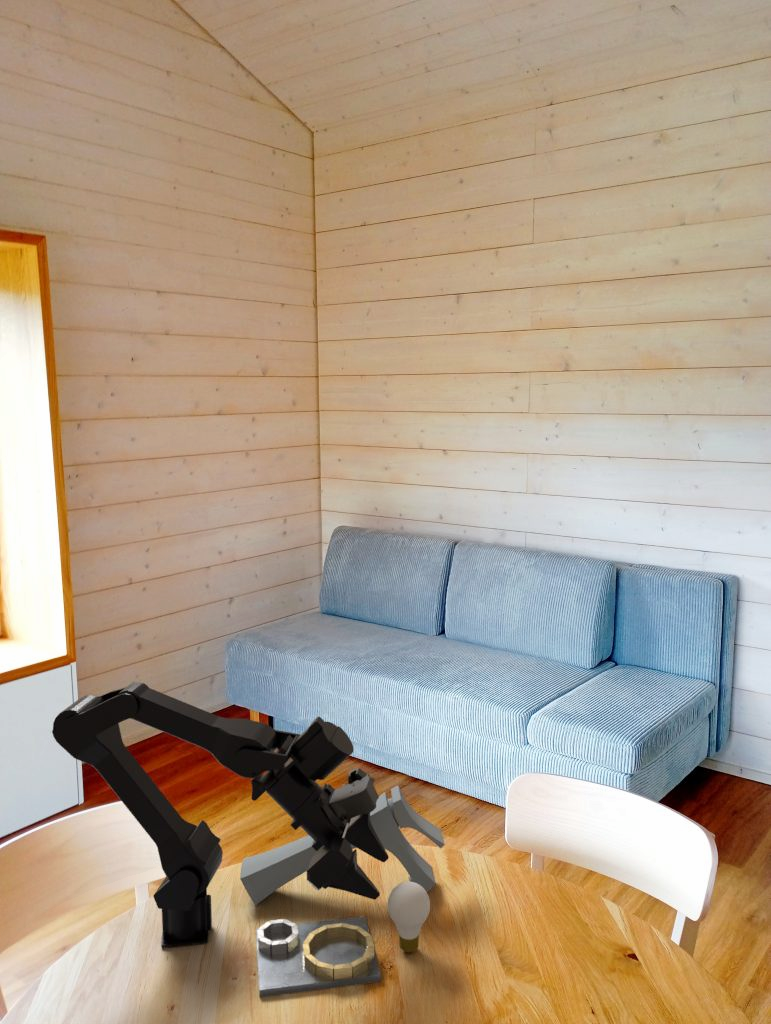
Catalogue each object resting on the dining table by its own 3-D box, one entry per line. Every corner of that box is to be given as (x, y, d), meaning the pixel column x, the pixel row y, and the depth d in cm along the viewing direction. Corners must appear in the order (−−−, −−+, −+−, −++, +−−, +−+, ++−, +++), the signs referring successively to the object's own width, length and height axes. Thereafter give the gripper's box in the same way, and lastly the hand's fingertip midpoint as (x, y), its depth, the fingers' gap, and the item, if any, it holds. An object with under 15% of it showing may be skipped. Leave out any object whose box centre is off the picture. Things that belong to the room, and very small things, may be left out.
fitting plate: (259, 997, 111) (259, 979, 110) (255, 935, 123) (255, 919, 123) (380, 981, 114) (380, 964, 113) (365, 922, 126) (364, 906, 126)
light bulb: (438, 950, 120) (438, 884, 119) (410, 970, 116) (410, 902, 114) (406, 932, 124) (407, 868, 123) (379, 951, 120) (379, 885, 118)
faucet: (288, 966, 132) (462, 880, 132) (239, 878, 129) (416, 790, 129) (290, 940, 138) (456, 859, 138) (242, 856, 135) (412, 772, 136)
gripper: (329, 793, 108) (416, 880, 108) (354, 735, 126) (428, 809, 127) (270, 847, 110) (356, 932, 110) (303, 782, 129) (376, 855, 129)
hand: (382, 877), depth 119 cm, fingers open, 9 cm apart
